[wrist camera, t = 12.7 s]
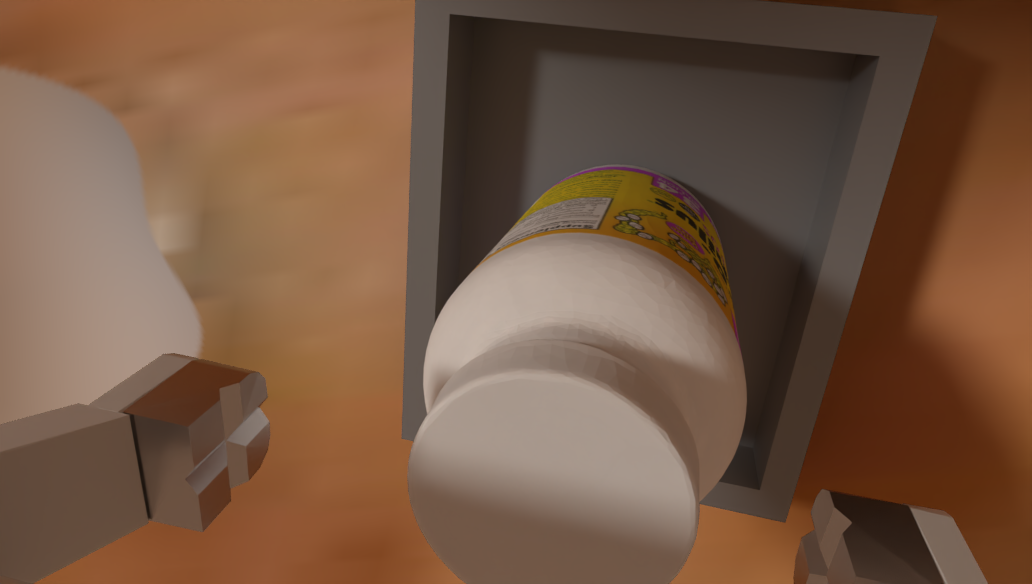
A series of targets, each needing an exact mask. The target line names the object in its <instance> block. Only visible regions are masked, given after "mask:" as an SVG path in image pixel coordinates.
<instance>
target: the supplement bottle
mask: <svg viewBox="0 0 1032 584" xmlns="http://www.w3.org/2000/svg"><path fill="white" fill-rule="evenodd" d="M423 389H424V398H425V405H426V410H427V416H426V418H425V419H424V421H423V422H422V424H421V426H420V428H419V430H418V432H417V434H416V437H415V439H414V442H413V445H412V448H411V452H410V456H409V462H408V492H409V498H410V503H411V506H412V509H413V512H414V515H415V518H416V521H417V523H418V525H419V528H420V530H421V532H422V533H423V535H424V537H425V538H426V540H427V542H428V544H429V545H430V546H431V548H432V549H433V550H434V552H435V553H436V555H437V556H438V557H439V558H440V559H441V560H442V561H443V562H444V564H445V565H446V566H447V567H448V568H449V569H450V570H451V571H452V572H453V573H454V574H455V575H456V576H457V577H458V578H460V579H461V580H462V581H464V582H465V583H466V584H669V583H670V582H671V581H672V580H673V579H674V578H675V577H676V576H677V575H678V573H679V572H680V570H681V569H682V567H683V566H684V564H685V562H686V560H687V558H688V556H689V554H690V552H691V550H692V548H693V545H694V542H695V539H696V536H697V529H698V523H699V512H700V504H699V502H700V501H701V500H702V499H703V498H704V497H705V496H706V495H707V494H708V493H709V492H710V491H711V490H712V489H713V488H714V487H715V485H716V484H717V483H718V481H719V480H720V479H721V477H722V476H723V474H724V473H725V471H726V469H727V468H728V466H729V464H730V462H731V461H732V459H733V457H734V455H735V452H736V450H737V448H738V445H739V442H740V439H741V436H742V431H743V427H744V423H745V417H746V406H747V391H746V379H745V372H744V365H743V359H742V354H741V349H740V344H739V338H738V332H737V326H736V320H735V314H734V306H733V302H732V295H731V289H730V284H729V279H728V274H727V268H726V263H725V257H724V252H723V248H722V244H721V240H720V237H719V234H718V232H717V229H716V227H715V225H714V223H713V221H712V219H711V217H710V215H709V214H708V212H707V211H706V210H705V208H704V207H703V205H702V204H701V203H700V202H699V201H698V200H697V198H696V197H695V196H694V195H693V194H692V193H690V192H689V191H688V190H687V189H686V188H684V187H683V186H682V185H680V184H679V183H677V182H676V181H674V180H673V179H671V178H669V177H667V176H665V175H663V174H660V173H658V172H655V171H653V170H649V169H646V168H642V167H638V166H632V165H604V166H597V167H593V168H589V169H586V170H582V171H580V172H578V173H575V174H573V175H571V176H569V177H567V178H565V179H563V180H561V181H560V182H558V183H557V184H555V185H554V186H552V187H551V188H550V189H548V190H547V191H546V192H545V193H544V194H543V195H542V196H541V197H540V198H539V199H538V200H537V201H536V202H535V203H534V204H533V205H532V206H531V207H530V208H529V209H528V211H527V212H526V213H525V214H524V215H523V216H522V217H521V218H520V219H519V220H518V222H517V223H516V224H515V225H514V226H513V227H512V228H511V229H510V230H509V232H508V233H507V234H506V235H505V236H504V237H503V238H502V239H501V241H500V242H499V243H498V244H497V245H496V246H495V247H494V248H493V249H492V250H491V251H490V253H489V254H488V255H487V256H486V257H485V258H484V259H483V260H482V261H481V262H480V263H479V264H478V265H477V267H476V268H475V269H474V270H473V271H472V272H471V273H470V274H469V275H468V276H467V278H466V279H465V280H464V281H463V282H462V283H461V284H460V285H459V287H458V288H457V289H456V290H455V291H454V293H453V294H452V295H451V297H450V298H449V299H448V301H447V302H446V304H445V306H444V307H443V309H442V310H441V312H440V314H439V316H438V318H437V320H436V322H435V325H434V327H433V330H432V332H431V335H430V338H429V342H428V346H427V349H426V355H425V362H424V373H423Z"/></svg>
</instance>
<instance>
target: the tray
mask: <svg viewBox="0 0 1032 584" xmlns="http://www.w3.org/2000/svg"><path fill="white" fill-rule="evenodd" d="M937 17H938V16H933V15H921V14H910V13H898V12H887V11H875V10H864V9H852V8H841V7H829V6H818V5H806V4H795V3H783V2H772V1H760V0H415V30H414V62H413V94H412V126H411V158H410V190H409V222H408V254H407V286H406V318H405V350H404V382H403V414H402V439H406V440H410V441H414V439H415V437H416V434H417V432H418V430H419V428H420V426H421V424H422V422H423V421H424V419H425V418H426V416H427V410H426V405H425V398H424V389H423V373H424V362H425V355H426V349H427V346H428V342H429V338H430V335H431V332H432V330H433V327H434V325H435V322H436V320H437V318H438V316H439V314H440V312H441V310H442V309H443V307H444V306H445V304H446V302H447V301H448V299H449V298H450V297H451V295H452V294H453V293H454V291H455V290H456V289H457V288H458V287H459V285H460V284H461V283H462V282H463V281H464V280H465V279H466V278H467V276H468V275H469V274H470V273H471V272H472V271H473V270H474V269H475V268H476V267H477V265H478V264H479V263H480V262H481V261H482V260H483V259H484V258H485V257H486V256H487V255H488V254H489V253H490V251H491V250H492V249H493V248H494V247H495V246H496V245H497V244H498V243H499V242H500V241H501V239H502V238H503V237H504V236H505V235H506V234H507V233H508V232H509V230H510V229H511V228H512V227H513V226H514V225H515V224H516V223H517V222H518V220H519V219H520V218H521V217H522V216H523V215H524V214H525V213H526V212H527V211H528V209H529V208H530V207H531V206H532V205H533V204H534V203H535V202H536V201H537V200H538V199H539V198H540V197H541V196H542V195H543V194H544V193H545V192H546V191H547V190H548V189H550V188H551V187H552V186H554V185H555V184H557V183H558V182H560V181H561V180H563V179H565V178H567V177H569V176H571V175H573V174H575V173H578V172H580V171H582V170H586V169H589V168H593V167H597V166H604V165H632V166H638V167H642V168H646V169H649V170H653V171H655V172H658V173H660V174H663V175H665V176H667V177H669V178H671V179H673V180H674V181H676V182H677V183H679V184H680V185H682V186H683V187H684V188H686V189H687V190H688V191H689V192H690V193H692V194H693V195H694V196H695V197H696V198H697V200H698V201H699V202H700V203H701V204H702V205H703V207H704V208H705V210H706V211H707V212H708V214H709V215H710V217H711V219H712V221H713V223H714V225H715V227H716V229H717V232H718V234H719V237H720V240H721V244H722V248H723V252H724V257H725V263H726V268H727V274H728V279H729V284H730V289H731V295H732V302H733V306H734V314H735V320H736V326H737V332H738V338H739V344H740V349H741V354H742V359H743V365H744V372H745V379H746V391H747V406H746V417H745V423H744V427H743V431H742V436H741V439H740V442H739V445H738V448H737V450H736V452H735V455H734V457H733V459H732V461H731V462H730V464H729V466H728V468H727V469H726V471H725V473H724V474H723V476H722V477H721V479H720V480H719V481H718V483H717V484H716V485H715V487H714V488H713V489H712V490H711V491H710V492H709V493H708V494H707V495H706V496H705V497H704V498H703V499H702V500H701V501H700V502H699V504H703V505H707V506H712V507H716V508H721V509H725V510H730V511H734V512H739V513H744V514H748V515H753V516H757V517H762V518H766V519H771V520H776V521H780V522H786V518H787V515H788V512H789V508H790V505H791V502H792V498H793V495H794V492H795V488H796V485H797V482H798V478H799V475H800V472H801V468H802V465H803V462H804V458H805V455H806V452H807V448H808V445H809V442H810V439H811V435H812V432H813V429H814V425H815V422H816V419H817V415H818V412H819V409H820V405H821V402H822V399H823V395H824V392H825V389H826V385H827V382H828V379H829V375H830V372H831V369H832V365H833V362H834V359H835V355H836V352H837V349H838V346H839V342H840V339H841V336H842V332H843V329H844V326H845V322H846V319H847V316H848V312H849V309H850V306H851V302H852V299H853V296H854V292H855V289H856V286H857V282H858V279H859V276H860V272H861V269H862V266H863V262H864V259H865V256H866V252H867V249H868V246H869V243H870V239H871V236H872V233H873V229H874V226H875V223H876V219H877V216H878V213H879V209H880V206H881V203H882V199H883V196H884V193H885V189H886V186H887V183H888V179H889V176H890V173H891V169H892V166H893V163H894V159H895V156H896V153H897V150H898V146H899V143H900V140H901V136H902V133H903V130H904V126H905V123H906V120H907V116H908V113H909V110H910V106H911V103H912V100H913V96H914V93H915V90H916V86H917V83H918V80H919V76H920V73H921V70H922V66H923V63H924V60H925V57H926V53H927V50H928V47H929V43H930V40H931V37H932V33H933V30H934V27H935V23H936V20H937Z"/></svg>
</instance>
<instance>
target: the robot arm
mask: <svg viewBox="0 0 1032 584" xmlns="http://www.w3.org/2000/svg"><path fill="white" fill-rule="evenodd" d="M266 398H267V389H266V380H265V378H264V377H263V376H262V375H261V374H260V373H259V372H256V371H252V370H247V369H243V368H239V367H234V366H230V365H226V364H221V363H217V362H213V361H208V360H204V359H198V358H194V357H189V356H185V355H180V354H175V353H171V354H163V355H161V356H160V357H158V358H157V359H155V360H154V361H152V362H151V363H150V364H148V365H146V366H145V367H144V368H142V369H141V370H139V371H138V372H136V373H135V374H133V375H132V376H130V377H129V378H127V379H126V380H124V381H123V382H121V383H120V384H118V385H117V386H116V387H114V388H113V389H111V390H110V391H108V392H107V393H105V394H104V395H102V396H101V397H99V398H98V399H96V400H95V401H93V402H92V403H90V404H89V405H83V404H75V405H71V406H67V407H63V408H60V409H56V410H52V411H48V412H45V413H41V414H37V415H34V416H29V417H26V418H22V419H18V420H15V421H11V422H7V423H4V424H0V584H33V583H35V582H37V581H39V580H41V579H43V578H45V577H46V576H48V575H50V574H52V573H54V572H56V571H58V570H60V569H62V568H64V567H66V566H68V565H69V564H71V563H73V562H75V561H77V560H79V559H81V558H83V557H85V556H87V555H89V554H91V553H93V552H94V551H96V550H98V549H100V548H102V547H104V546H106V545H108V544H110V543H112V542H114V541H116V540H117V539H119V538H121V537H123V536H125V535H127V534H129V533H131V532H133V531H135V530H137V529H139V528H140V527H142V526H144V525H146V524H148V523H149V522H148V520H150V521H154V522H159V523H164V524H168V525H173V526H177V527H182V528H186V529H191V530H196V531H200V532H203V531H204V530H205V529H206V528H207V527H208V526H209V525H210V524H211V523H212V521H213V520H214V519H215V518H216V517H217V516H218V515H219V514H220V513H221V511H222V510H223V509H224V508H225V507H226V506H227V505H228V504H229V503H230V501H231V488H233V487H235V486H238V485H240V484H243V483H245V482H247V481H249V480H250V479H251V478H252V477H253V475H254V474H255V473H256V472H257V471H258V470H259V468H260V467H261V464H262V462H263V460H264V458H265V455H266V453H267V451H268V446H269V440H270V423H269V420H268V419H267V417H266V416H265V415H264V413H263V412H262V410H261V409H260V408H259V407H260V406H261V405H262V403H263V402H264V401H265V400H266ZM811 515H812V519H813V523H814V527H815V530H813V531H812V532H810V533H808V534H807V535H805V536H804V537H802V539H801V542H800V545H799V549H798V552H797V555H796V560H795V569H794V577H793V579H794V584H988V582H987V580H986V578H985V577H984V575H983V573H982V571H981V569H980V567H979V565H978V564H977V562H976V560H975V558H974V556H973V554H972V552H971V551H970V549H969V547H968V545H967V543H966V541H965V540H964V538H963V536H962V534H961V532H960V530H959V528H958V527H957V525H956V523H955V521H954V519H953V517H952V516H951V515H949V514H948V513H947V512H945V511H943V510H937V509H932V508H926V507H920V506H915V505H909V504H898V503H893V502H887V501H882V500H877V499H872V498H867V497H862V496H857V495H852V494H847V493H842V492H837V491H831V490H826V489H821V491H820V492H819V494H818V495H817V497H816V499H815V502H814V504H813V507H812V510H811Z"/></svg>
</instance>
